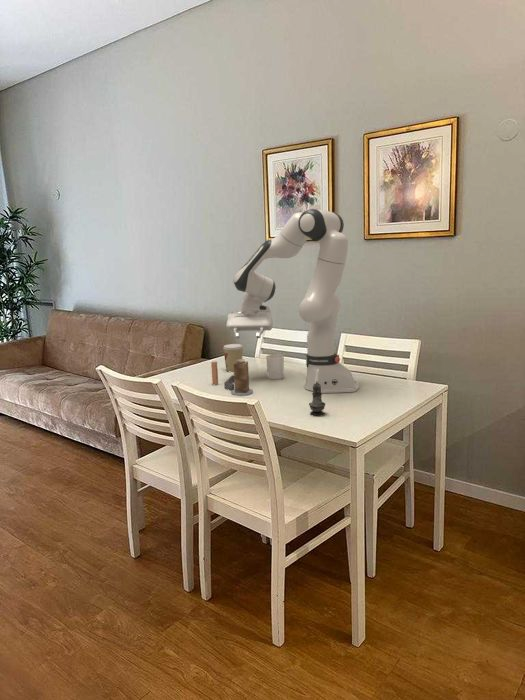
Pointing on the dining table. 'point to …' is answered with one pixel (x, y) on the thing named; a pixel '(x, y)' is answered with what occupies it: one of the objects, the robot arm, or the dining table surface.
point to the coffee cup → (232, 355)
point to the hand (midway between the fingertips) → (247, 337)
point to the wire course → (227, 384)
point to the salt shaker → (317, 401)
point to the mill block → (241, 376)
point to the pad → (242, 393)
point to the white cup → (275, 366)
